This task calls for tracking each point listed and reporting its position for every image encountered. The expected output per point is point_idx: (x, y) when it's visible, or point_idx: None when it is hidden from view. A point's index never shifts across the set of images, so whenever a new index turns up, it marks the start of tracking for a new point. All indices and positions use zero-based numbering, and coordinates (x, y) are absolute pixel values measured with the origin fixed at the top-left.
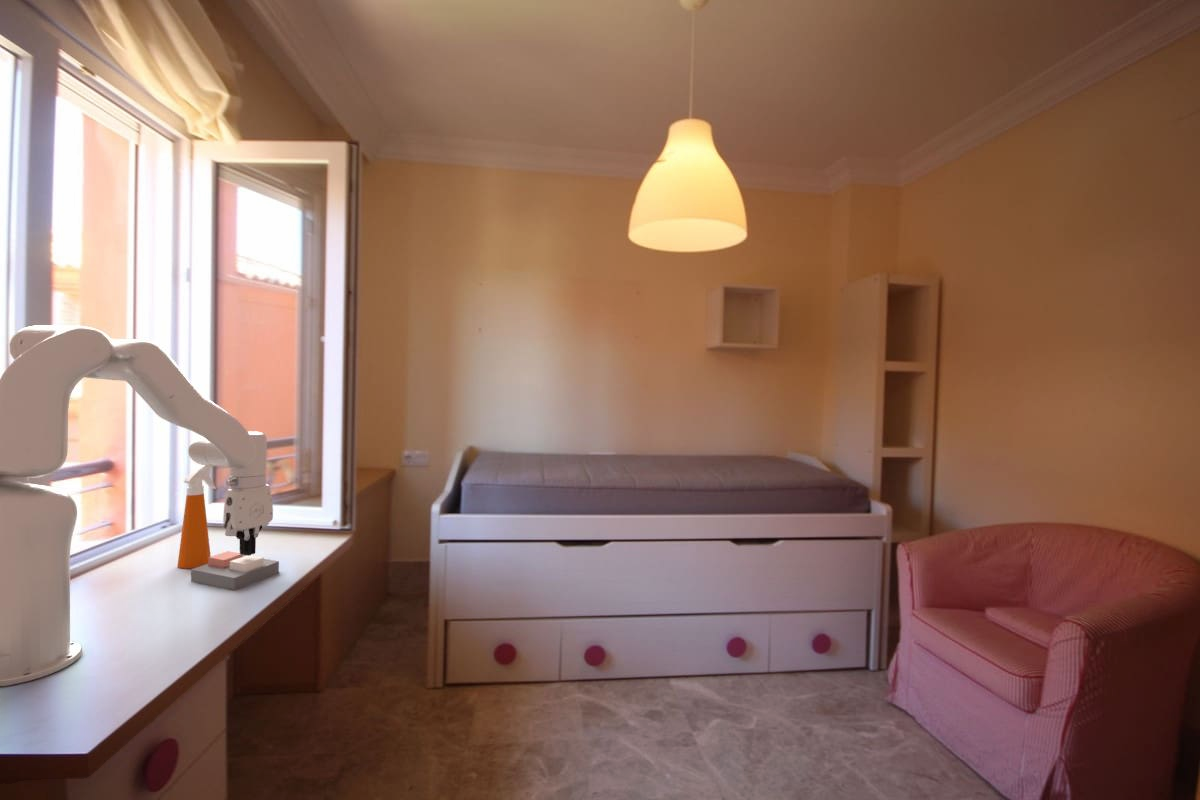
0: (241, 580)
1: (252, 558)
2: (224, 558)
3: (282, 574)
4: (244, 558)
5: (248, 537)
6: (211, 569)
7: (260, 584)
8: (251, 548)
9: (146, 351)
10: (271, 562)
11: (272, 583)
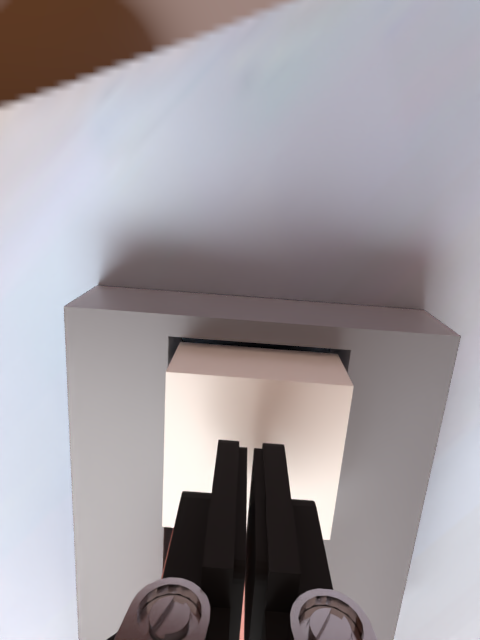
0: (388, 320)
1: (219, 438)
2: None
3: (108, 238)
4: None
5: (298, 631)
6: (355, 585)
7: (297, 236)
8: (266, 480)
9: None
10: (105, 341)
11: (259, 171)
